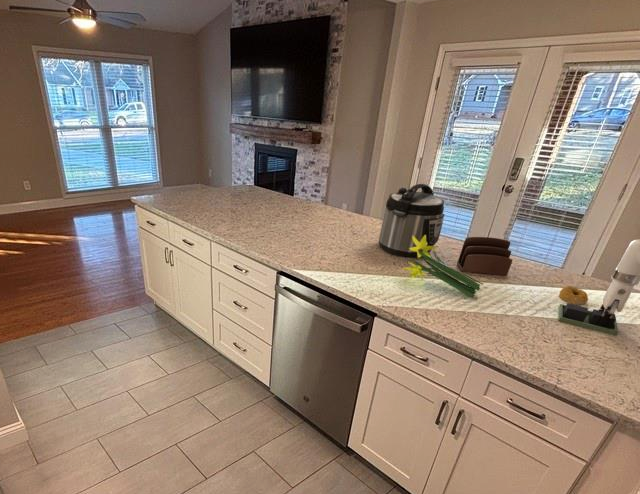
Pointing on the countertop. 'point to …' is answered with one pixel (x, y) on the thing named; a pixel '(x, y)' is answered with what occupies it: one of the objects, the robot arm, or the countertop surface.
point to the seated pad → (575, 312)
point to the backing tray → (586, 322)
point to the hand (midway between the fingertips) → (599, 322)
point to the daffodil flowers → (422, 251)
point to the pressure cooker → (411, 220)
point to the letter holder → (485, 256)
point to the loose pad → (596, 315)
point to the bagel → (573, 295)
